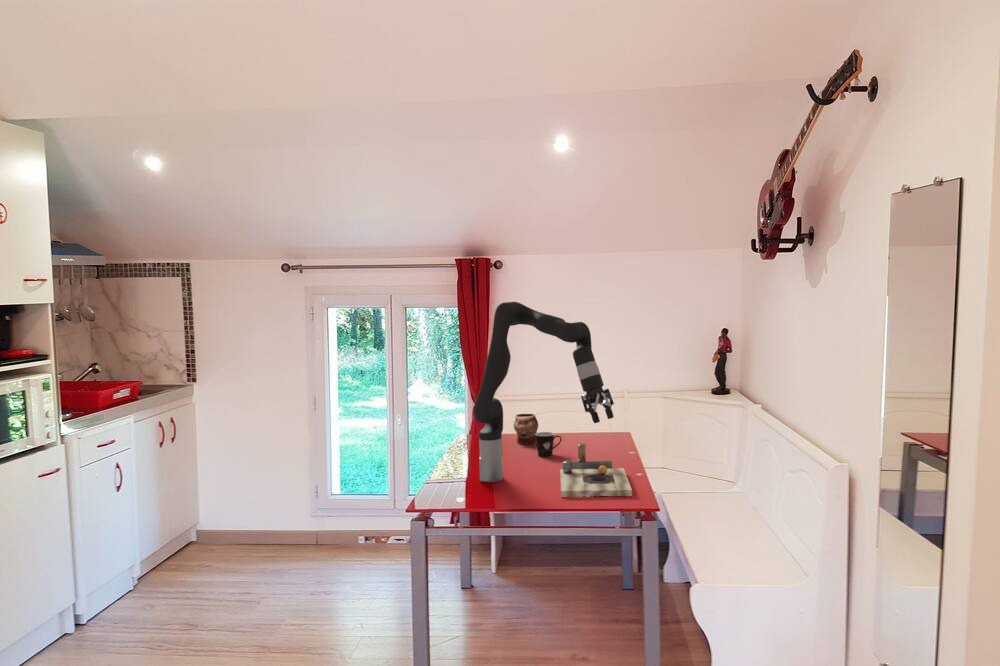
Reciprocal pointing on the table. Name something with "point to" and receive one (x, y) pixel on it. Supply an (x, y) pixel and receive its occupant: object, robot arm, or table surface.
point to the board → (595, 483)
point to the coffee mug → (545, 443)
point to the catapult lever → (583, 462)
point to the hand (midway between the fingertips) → (604, 420)
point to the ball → (602, 469)
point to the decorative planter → (526, 428)
